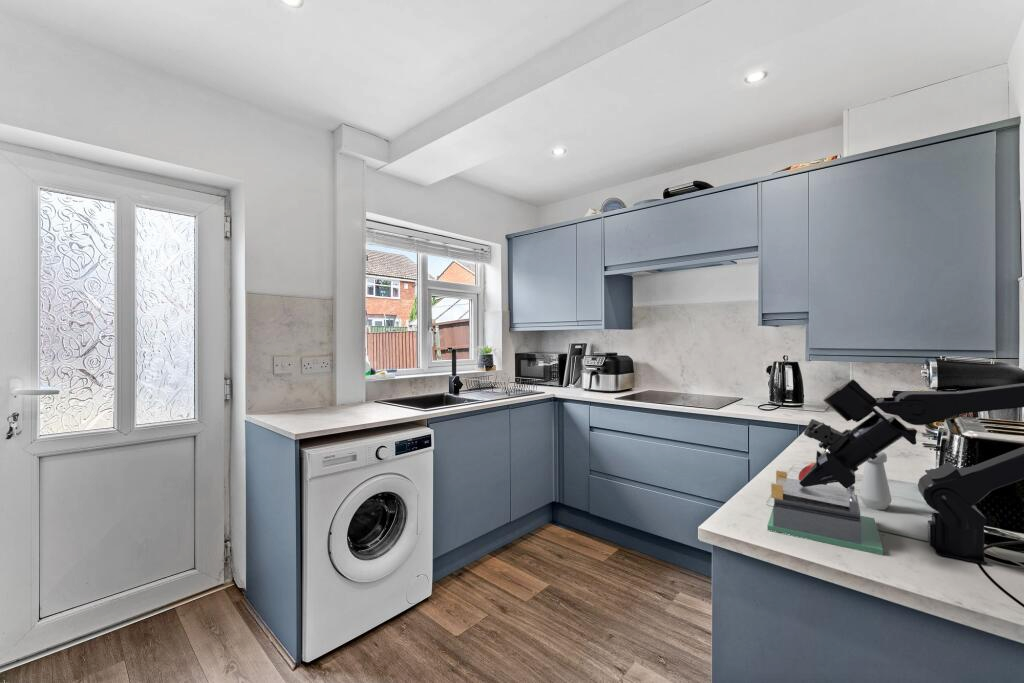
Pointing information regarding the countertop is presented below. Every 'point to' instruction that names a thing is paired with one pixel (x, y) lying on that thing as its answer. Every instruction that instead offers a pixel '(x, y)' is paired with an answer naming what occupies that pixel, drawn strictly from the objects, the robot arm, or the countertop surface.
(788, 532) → the processor board
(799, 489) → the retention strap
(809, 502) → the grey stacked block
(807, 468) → the onion
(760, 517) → the countertop surface
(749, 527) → the countertop surface
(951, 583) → the countertop surface
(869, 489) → the salt shaker
